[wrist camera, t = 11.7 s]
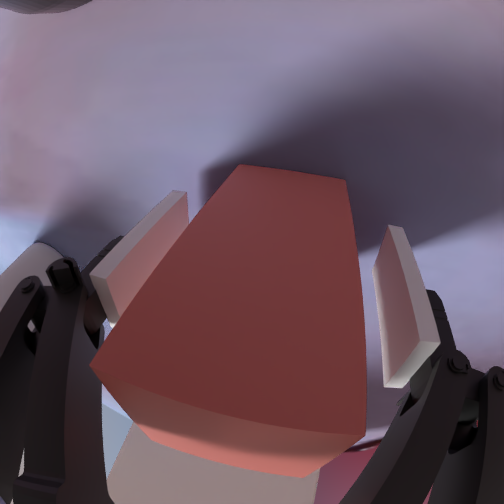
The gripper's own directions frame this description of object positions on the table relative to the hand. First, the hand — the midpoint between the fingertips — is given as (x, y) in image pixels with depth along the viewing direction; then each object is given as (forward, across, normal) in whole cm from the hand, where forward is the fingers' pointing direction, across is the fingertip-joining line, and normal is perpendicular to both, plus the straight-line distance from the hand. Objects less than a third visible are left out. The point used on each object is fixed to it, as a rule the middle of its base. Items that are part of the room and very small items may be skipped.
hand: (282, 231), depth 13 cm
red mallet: (+1, 0, -8) cm, 8 cm away
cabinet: (+1, -2, -25) cm, 25 cm away
